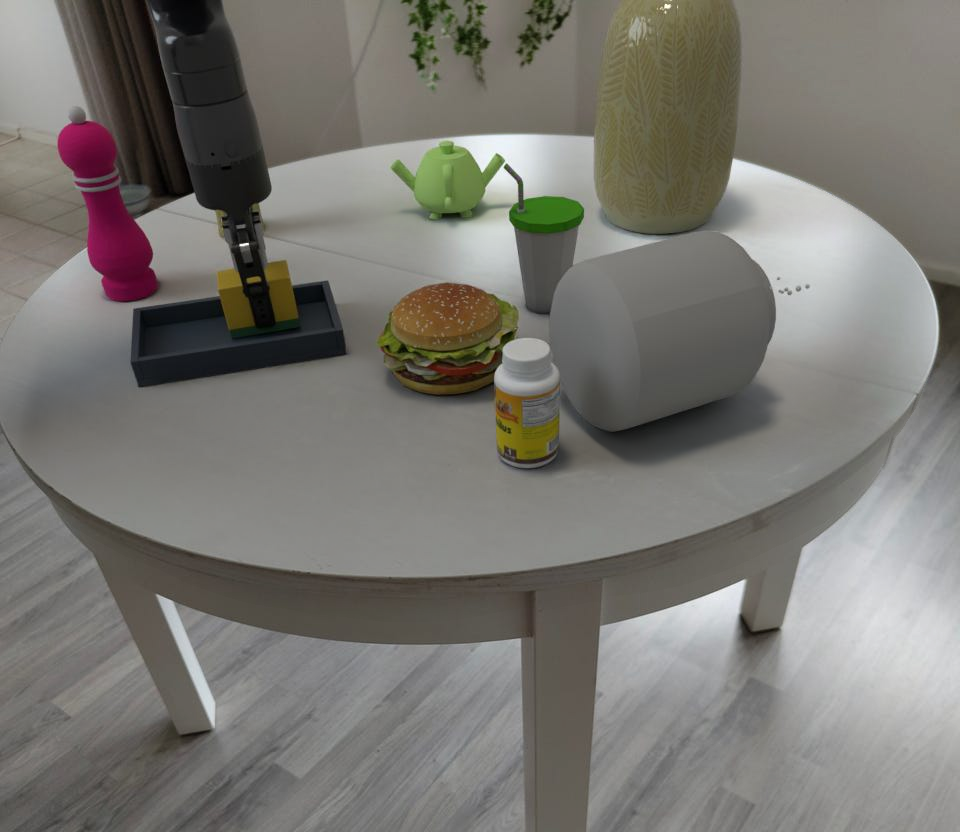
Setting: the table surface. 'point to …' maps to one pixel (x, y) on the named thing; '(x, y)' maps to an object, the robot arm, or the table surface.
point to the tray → (229, 338)
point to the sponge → (239, 305)
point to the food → (447, 338)
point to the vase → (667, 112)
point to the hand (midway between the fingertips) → (264, 314)
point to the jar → (660, 328)
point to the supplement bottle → (527, 404)
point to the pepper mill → (106, 210)
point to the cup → (544, 242)
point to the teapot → (448, 179)
